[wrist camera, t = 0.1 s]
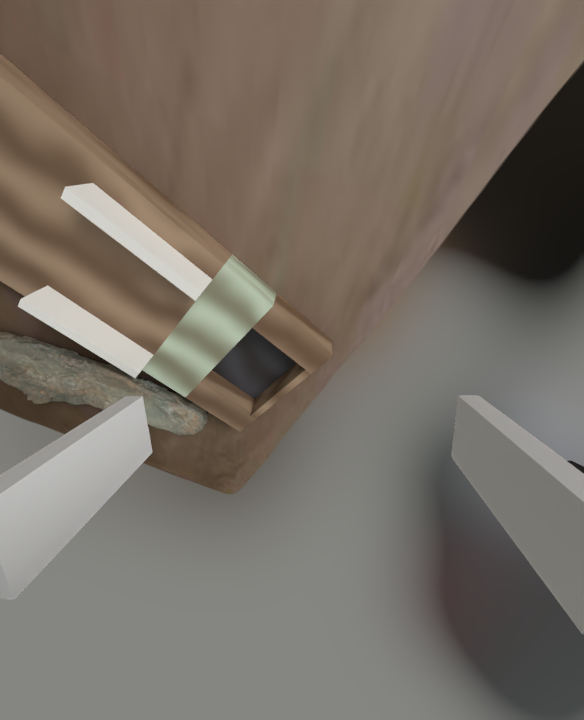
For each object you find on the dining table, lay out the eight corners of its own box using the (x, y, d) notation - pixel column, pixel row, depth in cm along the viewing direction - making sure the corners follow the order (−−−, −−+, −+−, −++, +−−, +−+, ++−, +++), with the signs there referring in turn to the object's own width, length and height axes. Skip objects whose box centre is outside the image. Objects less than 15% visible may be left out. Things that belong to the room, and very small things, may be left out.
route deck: (2, 55, 28) (-40, 42, 25) (331, 340, 42) (332, 356, 39) (-38, 227, 37) (-73, 235, 34) (244, 413, 51) (239, 431, 48)
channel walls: (92, 182, 30) (65, 186, 26) (212, 279, 34) (201, 293, 31) (44, 292, 37) (17, 306, 33) (149, 360, 41) (135, 378, 38)
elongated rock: (201, 430, 57) (218, 392, 52) (194, 453, 52) (211, 413, 48) (-14, 364, 48) (-18, 311, 44) (-45, 384, 44) (-53, 328, 39)
